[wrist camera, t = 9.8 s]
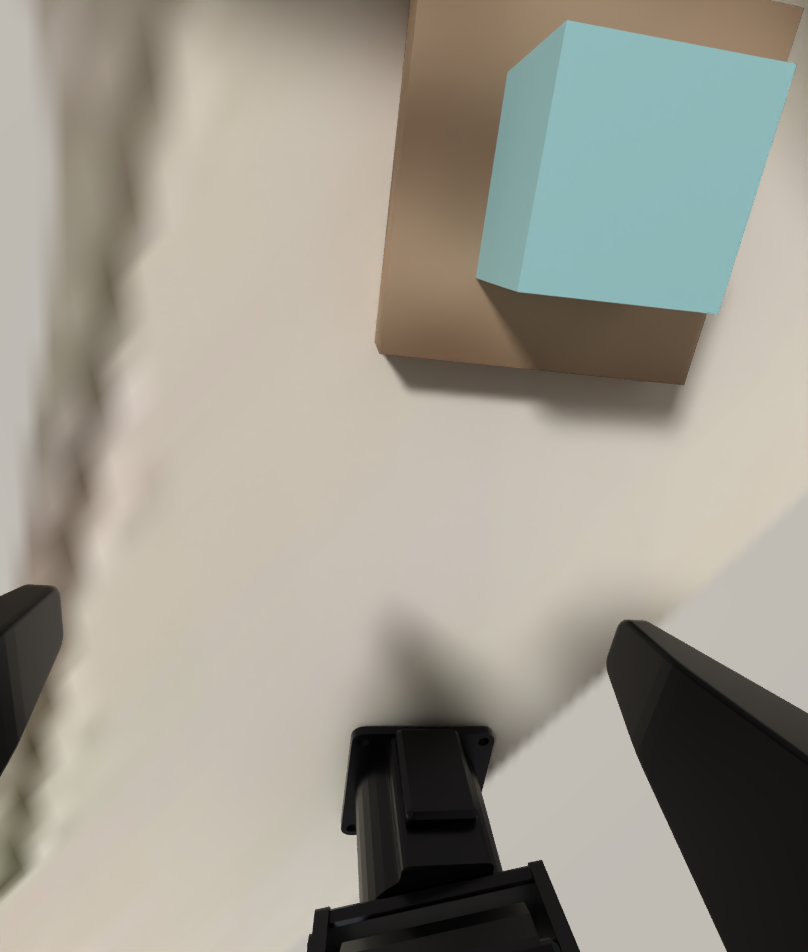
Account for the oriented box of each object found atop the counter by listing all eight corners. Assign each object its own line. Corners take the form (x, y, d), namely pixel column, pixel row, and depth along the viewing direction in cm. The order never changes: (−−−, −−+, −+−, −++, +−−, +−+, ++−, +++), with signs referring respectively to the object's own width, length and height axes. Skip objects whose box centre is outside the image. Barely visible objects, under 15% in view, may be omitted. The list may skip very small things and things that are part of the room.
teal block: (635, 296, 17) (717, 314, 14) (475, 278, 16) (517, 291, 13) (685, 103, 15) (797, 63, 12) (507, 72, 15) (567, 19, 11)
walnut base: (652, 371, 20) (684, 385, 19) (374, 341, 19) (379, 353, 17) (751, 31, 17) (804, 7, 15) (414, -40, 15) (426, -78, 13)
